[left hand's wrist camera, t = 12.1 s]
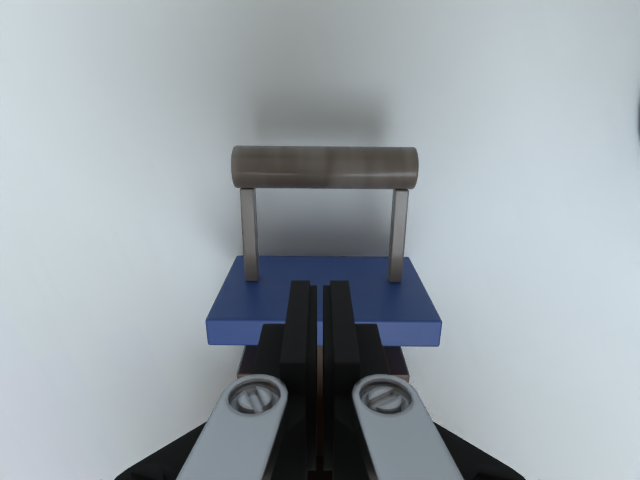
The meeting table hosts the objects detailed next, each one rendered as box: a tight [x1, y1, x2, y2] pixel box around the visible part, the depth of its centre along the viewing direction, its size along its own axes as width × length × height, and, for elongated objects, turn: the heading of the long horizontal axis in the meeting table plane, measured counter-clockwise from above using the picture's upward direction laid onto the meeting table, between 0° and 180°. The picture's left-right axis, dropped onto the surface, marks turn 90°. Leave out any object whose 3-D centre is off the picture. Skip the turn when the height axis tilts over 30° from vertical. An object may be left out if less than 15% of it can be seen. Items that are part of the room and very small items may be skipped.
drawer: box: [206, 146, 442, 480], centre depth 21 cm, size 20×9×7 cm, turn 0°
